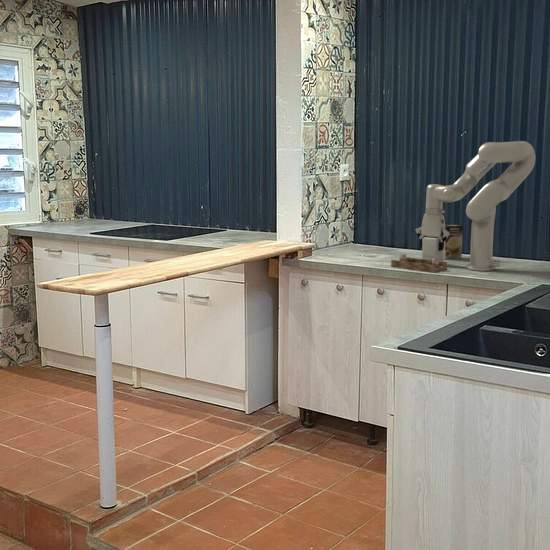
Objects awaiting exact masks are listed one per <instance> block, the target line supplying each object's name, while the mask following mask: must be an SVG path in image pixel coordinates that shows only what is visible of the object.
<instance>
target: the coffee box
mask: <svg viewBox="0 0 550 550" xmlns="http://www.w3.org/2000/svg"><path fill="white" fill-rule="evenodd" d="M445 230H447V231H448V232H449V233H450V235H449V237H448V239H447V240H446V241H445V242H444V260H461V259H462V255H463V254H462V252H463V251H462V250H463V233H464V226H463V225H461V224H445ZM443 237H445V235H444V236H443Z"/></svg>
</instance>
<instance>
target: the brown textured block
mask: <svg viewBox="0 0 550 550" xmlns="http://www.w3.org/2000/svg"><path fill="white" fill-rule="evenodd" d="M390 261H391V262H390V264H391V265H390V267H391V268H395V267H397V269H402V268H403V270H404V269H405V270H413V271H417V272H418V271H419V272H427V273H437V272H441V271H445V270H447V267H448V261H443V262H442V261H439V258H432V260H425V259H422V258H415V257H407V254H404V253H401V254H399V259H398V260H397V259H391V260H390Z"/></svg>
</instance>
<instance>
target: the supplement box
mask: <svg viewBox="0 0 550 550" xmlns="http://www.w3.org/2000/svg"><path fill="white" fill-rule="evenodd" d="M439 242H440V240H439V239H438V237H430V236H426V237H425V238H422V248H421V249H422V250H421V256H422V257H421V259H425V260H432V258H439V261H442V262H444V260H445V259H444V249H443V250H441V251H439V250H438V248H439Z"/></svg>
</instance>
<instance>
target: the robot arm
mask: <svg viewBox="0 0 550 550" xmlns="http://www.w3.org/2000/svg"><path fill="white" fill-rule="evenodd" d="M498 163H499V164H500V163H501V164H502V163H511V165H509V166H508V167H507V168H505V171H504V172H503V173H502V174H500V176H499V177H497V179H494V180H490V181H489V182H487V183H486V184H485V185H484V186H482V188H481V189H480V190H479V191H478V192H477V193H476V194H475V195H474V196H473V197H472V198H471V200H469V202H468V203H467V205H466V209H465V214H466V216H467V218H468V219H469V220H471V230H470V249H469V250H470V251H469V252H470V253H469V256H470V257H469V264H467V265H466V266H465V268H466V270H470V271H477V272H490V271H495V270H496V268H500V266H501V262H499V261H495V258H493V254H494V253H493V251H494V247H493V245H494V229H495V219H496V212H497V208H496V207H497V205H499V203H501V202H503V201H505V200H507V199H508V198H509V197H510V196H511V194H513V193H514V191H515V190H516V189H518V187H519V186H520V185H521V184H522V183H523V181H524V180H526V179H527V177H528V176H530V173H531V172H532V170H533V169H534V166H535V165H536V152H535V149H534V147H533V146H532V144H530V143H529V142H527V141H525V140H517V141H503V142H502V141H501V142H496V141H491V142H490V141H488V142H485V143H483V144H482V145H480V147H479V149H478V153H477V154H476V155H475V156H474V157H473V158H472V159H471V160H470V161H469V162H468V163H467V164H466V165H465V170H464V173H463V174H461V176H460V177H459V178H458V179H457V180H456V181H455V182H454V183H453V184H450V185H442V184H439V183H438V184H436V183H433V184H431V183H430V184H428V185H427V186H426V195H425V213H424V214H423V217H422V220H421V221H422V222H421V226H419V227H417V228H415V233H416V235H417V237H418V239H419V248H420V249H422V238H425V237H438V239H439V240H440V242H439V248H438V250H439V251H441V250H443V249H444V242H445V241H446V240H447V239H448V237H449V235H450V233H449V232H448V231H447V230H445V225H446V223H445V221H446V220H445V216H444V214H445V212H446V211H445V209H443V208H444V207H443V205H444V203H454V202H457V201H460V200H461V199H463V198H464V197H465V196H466V195H467V194H468V193H469V192H471V190H473V189H474V187H475V186H476V185H477V184H478V183H479V181H481V179H482V178H483V177H484V176H485V175H486V174H487V173H488V172H489V171H490V170H491V169H492V168H493V167H494V166H495V165H496V164H498ZM444 235H445V237H443V236H444Z"/></svg>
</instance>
